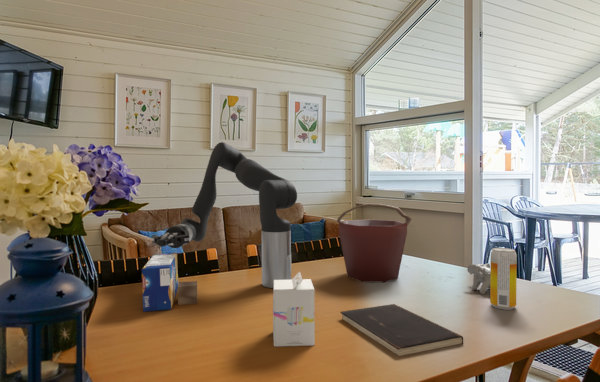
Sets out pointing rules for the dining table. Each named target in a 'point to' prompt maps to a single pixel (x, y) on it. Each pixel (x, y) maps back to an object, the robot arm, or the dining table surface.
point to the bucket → (373, 246)
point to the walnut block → (187, 292)
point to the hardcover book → (400, 329)
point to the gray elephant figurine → (480, 276)
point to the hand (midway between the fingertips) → (161, 243)
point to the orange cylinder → (503, 278)
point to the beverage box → (160, 282)
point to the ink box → (293, 312)
